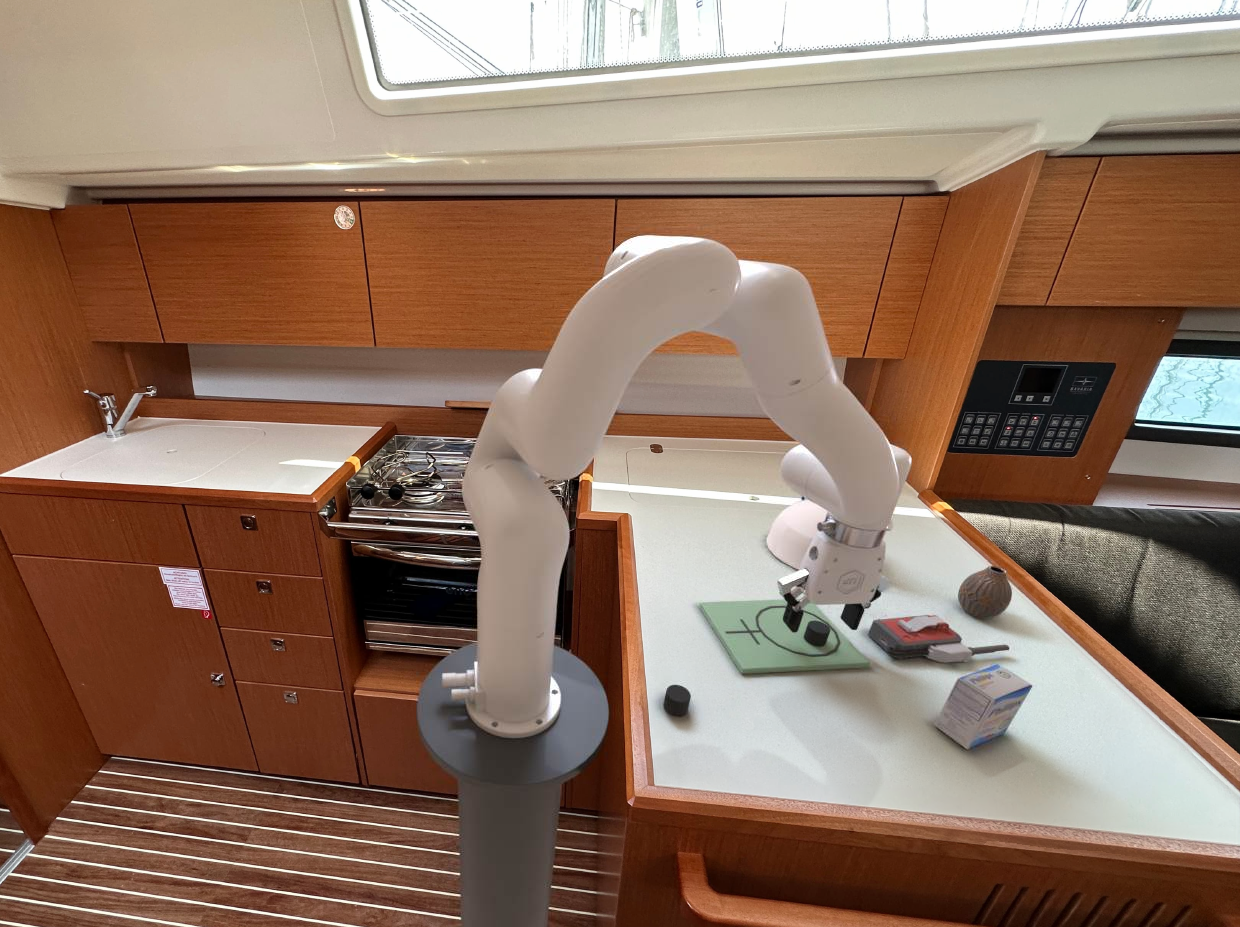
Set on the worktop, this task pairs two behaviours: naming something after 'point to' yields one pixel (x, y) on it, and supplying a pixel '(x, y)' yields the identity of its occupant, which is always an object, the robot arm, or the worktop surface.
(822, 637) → the eye dot
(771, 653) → the drawing board
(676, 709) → the eye dot
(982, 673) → the medicine box
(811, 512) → the kettle
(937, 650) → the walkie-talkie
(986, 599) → the vase
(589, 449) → the robot arm
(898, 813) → the worktop surface
